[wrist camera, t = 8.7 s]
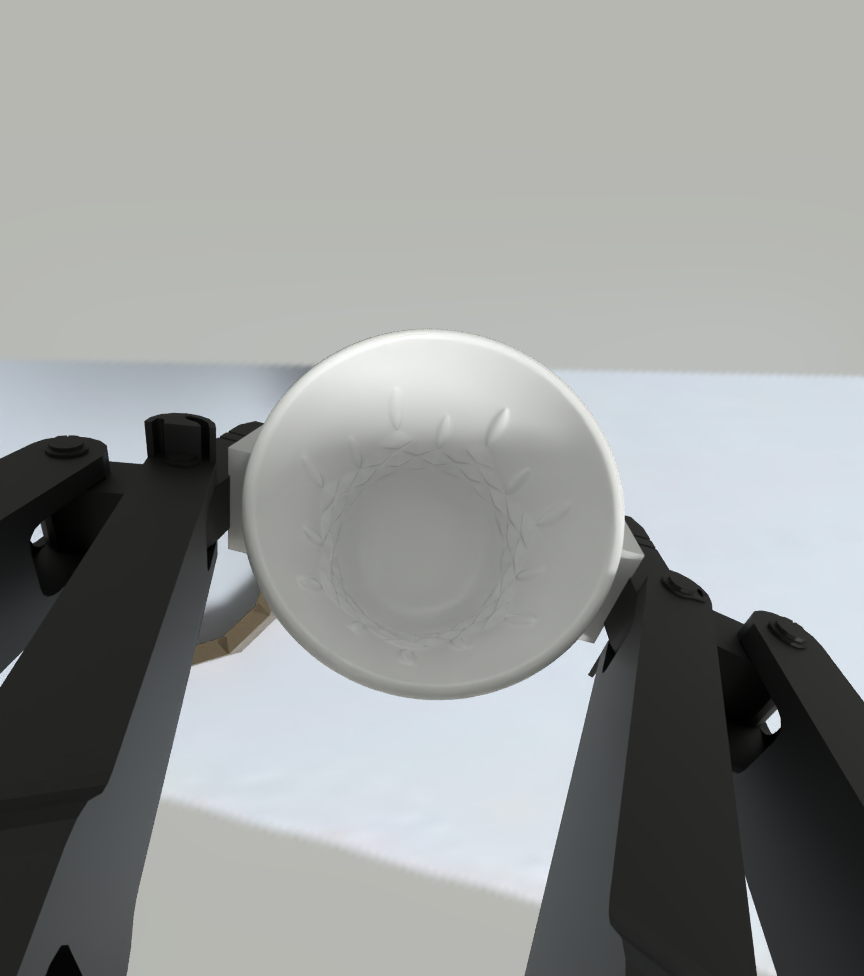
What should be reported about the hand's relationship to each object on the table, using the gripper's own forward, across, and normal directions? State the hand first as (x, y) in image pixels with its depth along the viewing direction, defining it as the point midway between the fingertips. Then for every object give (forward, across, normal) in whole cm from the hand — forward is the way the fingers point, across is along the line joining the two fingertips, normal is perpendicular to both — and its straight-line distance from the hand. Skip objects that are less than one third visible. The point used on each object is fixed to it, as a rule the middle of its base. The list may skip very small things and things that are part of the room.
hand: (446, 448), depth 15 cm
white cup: (+1, 0, -6) cm, 6 cm away
